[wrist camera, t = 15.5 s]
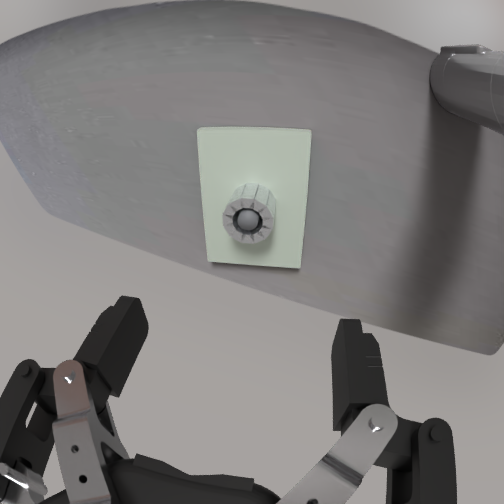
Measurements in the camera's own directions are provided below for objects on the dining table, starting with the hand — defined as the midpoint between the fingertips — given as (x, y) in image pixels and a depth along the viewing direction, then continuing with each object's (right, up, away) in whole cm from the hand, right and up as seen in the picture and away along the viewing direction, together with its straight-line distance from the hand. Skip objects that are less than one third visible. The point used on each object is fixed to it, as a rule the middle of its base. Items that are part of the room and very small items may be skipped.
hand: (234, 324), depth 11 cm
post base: (+1, +10, +30) cm, 31 cm away
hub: (+1, +9, +28) cm, 29 cm away
